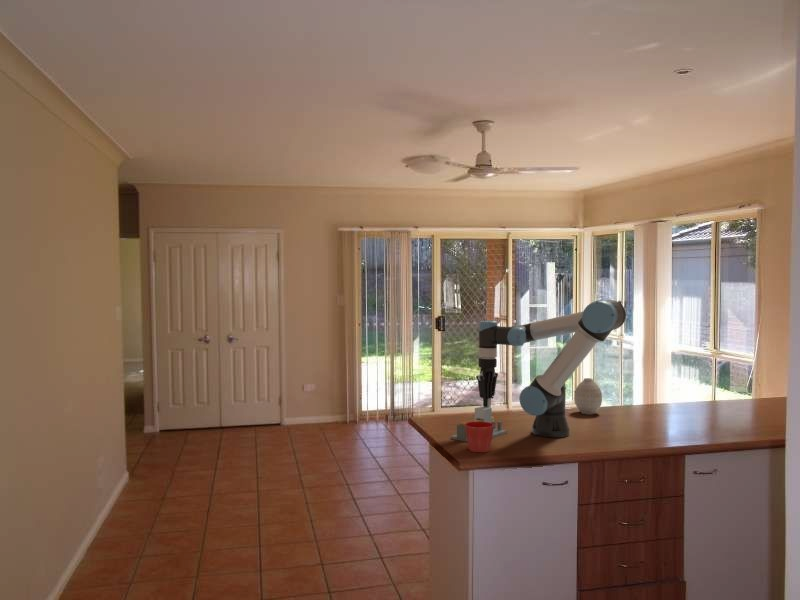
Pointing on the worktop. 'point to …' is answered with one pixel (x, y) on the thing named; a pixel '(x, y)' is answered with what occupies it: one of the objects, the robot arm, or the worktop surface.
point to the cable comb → (461, 427)
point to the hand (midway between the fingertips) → (486, 413)
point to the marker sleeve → (483, 414)
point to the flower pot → (479, 435)
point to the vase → (588, 397)
